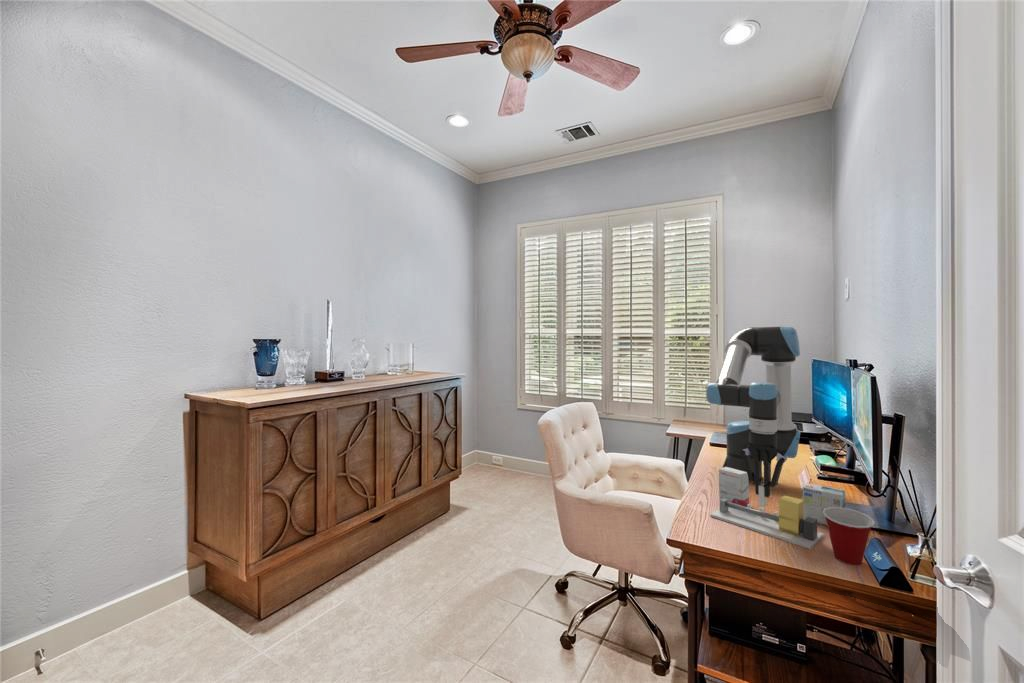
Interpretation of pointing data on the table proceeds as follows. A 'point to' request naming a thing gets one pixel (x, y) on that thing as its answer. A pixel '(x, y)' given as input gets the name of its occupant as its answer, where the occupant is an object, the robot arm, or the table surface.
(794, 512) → the sleeve
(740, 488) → the ink box
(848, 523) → the plastic cup
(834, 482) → the table surface
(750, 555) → the table surface
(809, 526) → the rod slider on plate
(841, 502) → the light bulb box
